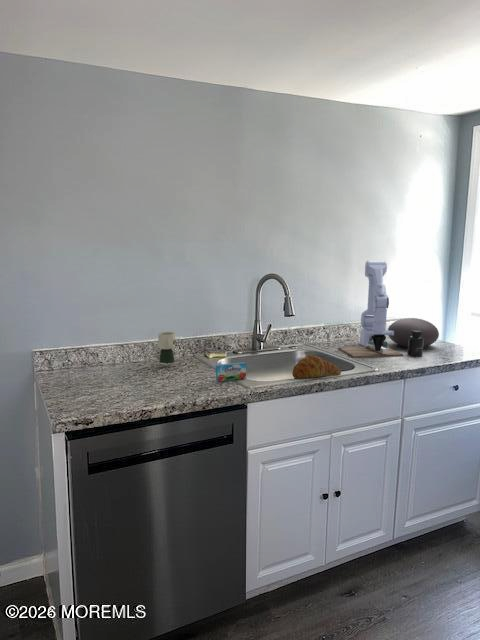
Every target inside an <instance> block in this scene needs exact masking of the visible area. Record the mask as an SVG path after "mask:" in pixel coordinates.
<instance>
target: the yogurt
mask: <svg viewBox="0 0 480 640" xmlns="http://www.w3.org/2000/svg"><path fill="white" fill-rule="evenodd" d="M241 378H243V379H241ZM235 379H239V380H245V379H247V363H246V362H243V361H242V362H233V363H222V364H215V381H216V382H217V383H220V382H229V381H236V380H235Z"/></svg>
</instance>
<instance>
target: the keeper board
mask: <svg viewBox="0 0 480 640" xmlns="http://www.w3.org/2000/svg"><path fill="white" fill-rule="evenodd" d="M368 344H370V345H374V342H373V341H368ZM382 347H384V348H387V349H388V350H387V354H381V353H379V352H377V351H375V350H372V349H370V348H367V346H366V347H365V346H338V350H339V351H341V352H343V353H344V354H346V355H348V356H350V357H351V358H355V359H358V358H359V359H360V358H361V359H362V358H363V359H364V358H391V357H404V353H401V352H400V351H397V350H395V349H393V348H391V347H388V341H386V340H385V341H384V342H383V344H382Z"/></svg>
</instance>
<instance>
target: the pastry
mask: <svg viewBox="0 0 480 640" xmlns="http://www.w3.org/2000/svg"><path fill="white" fill-rule="evenodd" d="M341 372H342V370H341V369H340V368H338V367H337V365H336V364H333V363H331V362H329V360H325V359H323V358H321V357H320V356H316V355H315V354H311V355H307V356H304V357H303V358H301V359H300V360H299V361H298V362H297V363H296V364H295V365H294V366H293V368H292V377H293V378H294V379H313V378H314V379H315V378H321V377H328V376H331V377H332V376H339V375H341Z"/></svg>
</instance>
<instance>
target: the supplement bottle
mask: <svg viewBox="0 0 480 640" xmlns="http://www.w3.org/2000/svg"><path fill="white" fill-rule="evenodd" d="M411 335H412V336H410V337H409V340H408V347H407V353H406V354H407V356H409V357H414V358H421V357H423V353H424V347H423V345H424V338H423V337H422V331H418V330H412V332H411Z"/></svg>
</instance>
